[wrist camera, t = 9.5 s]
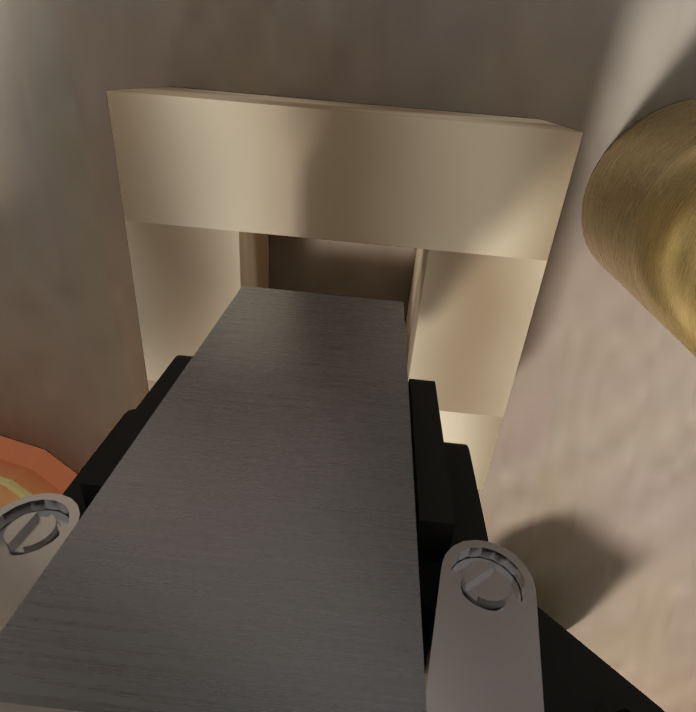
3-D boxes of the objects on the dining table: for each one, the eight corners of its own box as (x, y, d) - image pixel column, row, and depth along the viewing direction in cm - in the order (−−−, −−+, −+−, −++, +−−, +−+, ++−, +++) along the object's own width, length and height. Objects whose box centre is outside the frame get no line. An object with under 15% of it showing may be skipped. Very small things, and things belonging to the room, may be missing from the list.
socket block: (540, 119, 16) (583, 132, 12) (468, 424, 22) (483, 490, 18) (166, 86, 16) (105, 90, 13) (194, 395, 22) (158, 455, 19)
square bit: (403, 301, 12) (434, 840, 4) (385, 430, 14) (377, 982, 6) (242, 285, 12) (-99, 774, 4) (246, 416, 14) (27, 934, 6)
